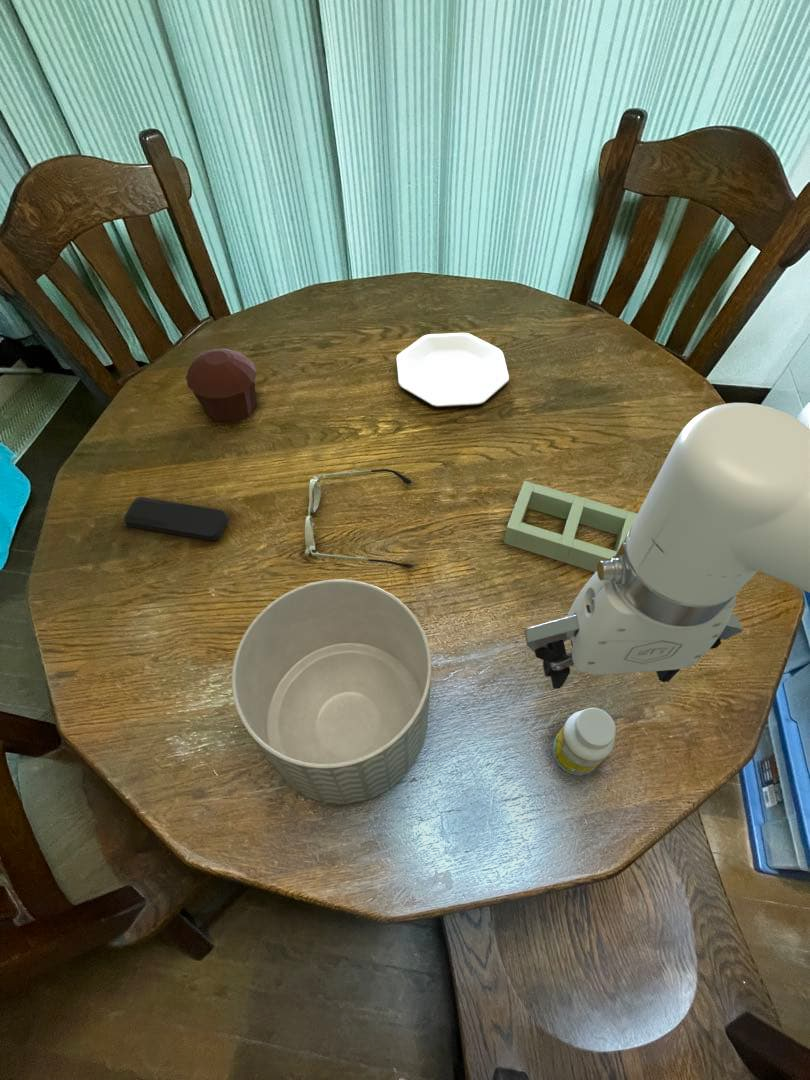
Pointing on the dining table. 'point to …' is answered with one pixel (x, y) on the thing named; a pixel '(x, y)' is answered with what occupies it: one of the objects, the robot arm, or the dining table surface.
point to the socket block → (566, 526)
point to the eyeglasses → (317, 493)
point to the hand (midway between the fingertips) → (606, 669)
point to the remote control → (176, 519)
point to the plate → (452, 369)
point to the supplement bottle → (584, 741)
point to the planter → (335, 688)
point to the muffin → (223, 384)
